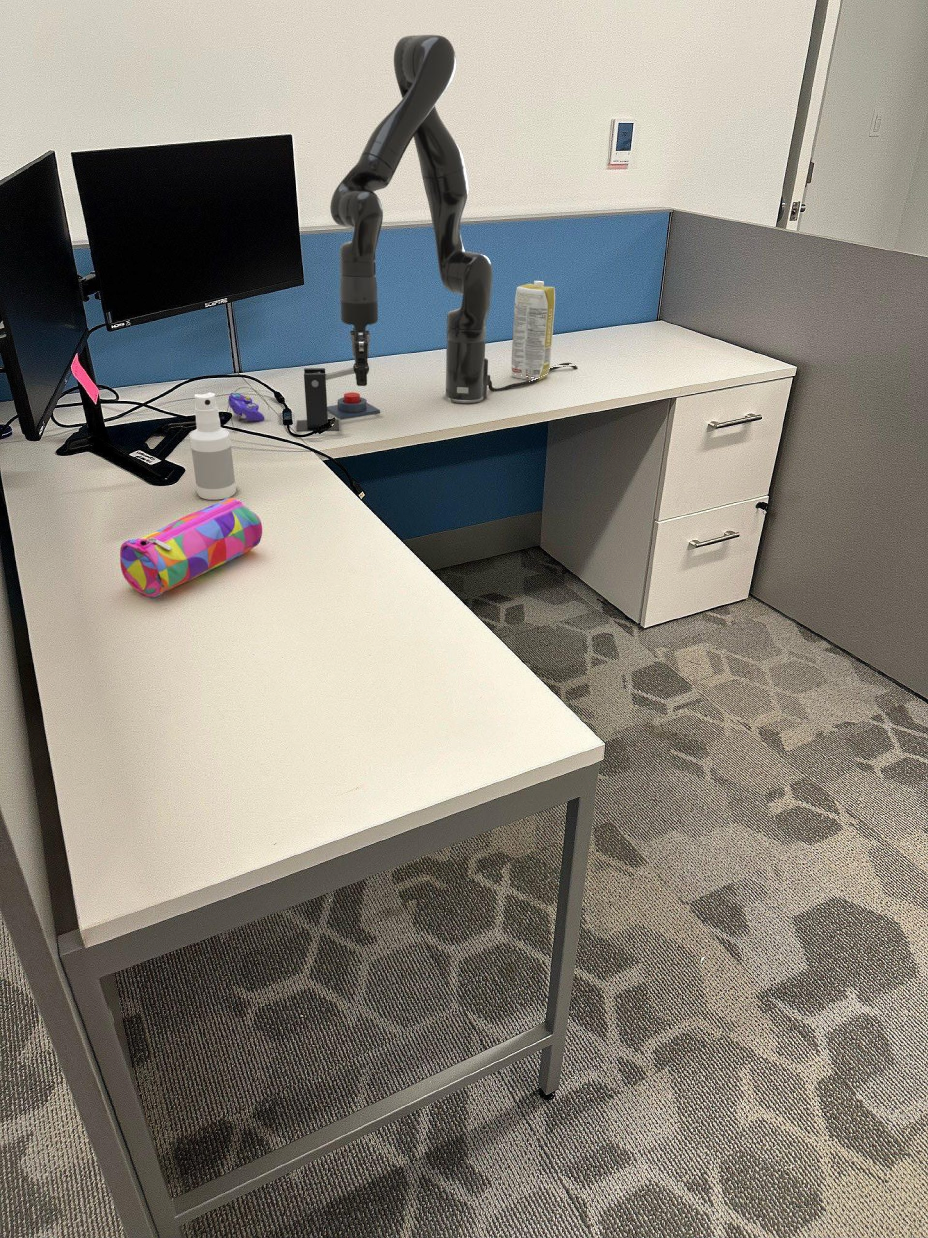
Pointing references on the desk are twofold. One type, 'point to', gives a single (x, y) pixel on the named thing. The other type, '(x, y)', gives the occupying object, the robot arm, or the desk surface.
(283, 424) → the desk surface
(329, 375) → the switch lever
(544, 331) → the juice carton
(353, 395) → the stop button
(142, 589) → the pencil case
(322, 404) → the switch bracket
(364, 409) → the button box
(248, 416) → the game controller
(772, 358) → the desk surface
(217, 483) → the spray bottle
